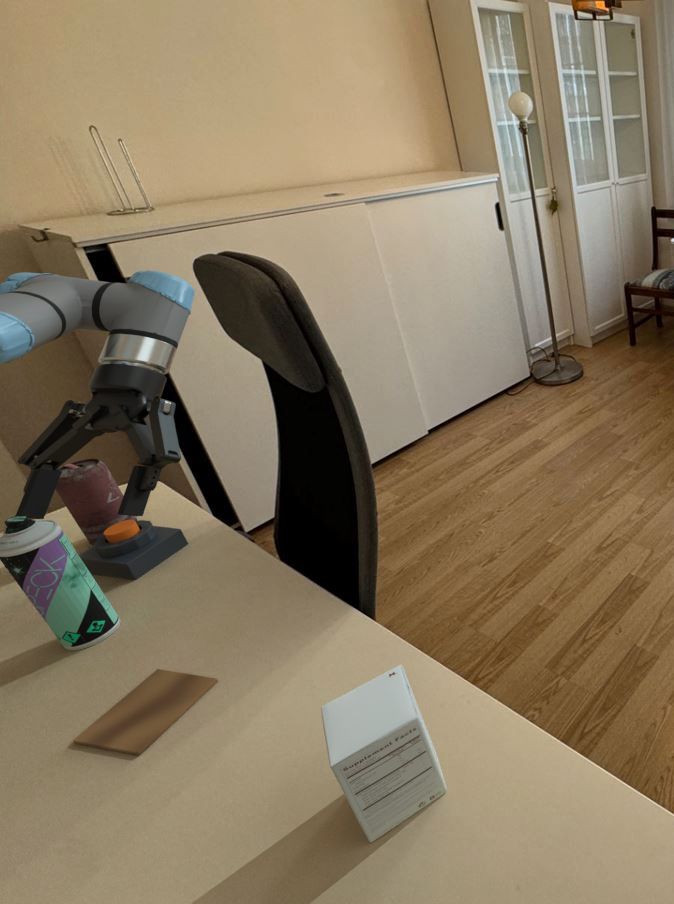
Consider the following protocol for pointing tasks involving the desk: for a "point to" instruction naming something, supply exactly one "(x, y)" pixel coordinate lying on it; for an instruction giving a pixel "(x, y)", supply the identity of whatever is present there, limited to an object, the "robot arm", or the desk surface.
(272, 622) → the desk surface
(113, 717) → the wooden board
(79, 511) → the can
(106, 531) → the orange button cap
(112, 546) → the button housing
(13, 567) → the spray can
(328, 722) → the white packaging box
